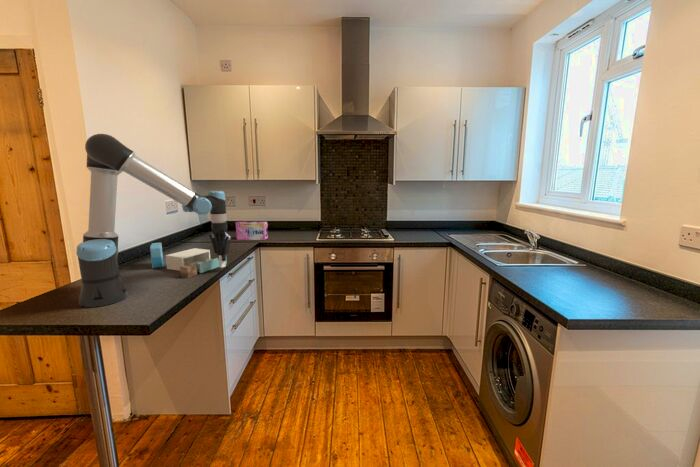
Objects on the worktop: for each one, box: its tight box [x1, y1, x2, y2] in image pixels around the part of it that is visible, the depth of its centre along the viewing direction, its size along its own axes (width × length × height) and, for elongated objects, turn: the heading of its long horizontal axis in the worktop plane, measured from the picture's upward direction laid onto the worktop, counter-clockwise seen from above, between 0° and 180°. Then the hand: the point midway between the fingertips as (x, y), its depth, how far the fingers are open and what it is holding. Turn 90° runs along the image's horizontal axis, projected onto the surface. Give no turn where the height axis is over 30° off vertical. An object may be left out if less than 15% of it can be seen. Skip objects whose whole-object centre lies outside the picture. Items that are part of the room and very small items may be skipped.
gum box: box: [235, 220, 269, 241], centre depth 243 cm, size 24×8×14 cm, turn 87°
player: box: [164, 247, 211, 272], centre depth 170 cm, size 12×18×7 cm, turn 157°
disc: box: [196, 260, 209, 266], centre depth 166 cm, size 8×8×2 cm
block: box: [179, 264, 198, 279], centre depth 152 cm, size 5×5×5 cm
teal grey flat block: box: [191, 257, 228, 274], centre depth 165 cm, size 13×18×5 cm
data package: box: [149, 242, 164, 269], centre depth 169 cm, size 12×4×12 cm
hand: (222, 266), depth 161 cm, fingers closed
